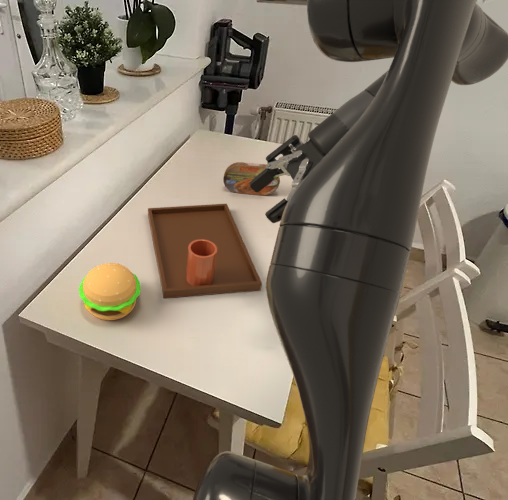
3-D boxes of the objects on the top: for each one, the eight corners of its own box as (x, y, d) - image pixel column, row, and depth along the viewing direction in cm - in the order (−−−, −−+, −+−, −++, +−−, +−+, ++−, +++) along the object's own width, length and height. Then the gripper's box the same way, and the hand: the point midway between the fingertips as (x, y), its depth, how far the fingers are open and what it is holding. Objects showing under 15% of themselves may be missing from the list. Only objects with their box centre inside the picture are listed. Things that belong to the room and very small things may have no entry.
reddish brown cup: (215, 287, 90) (220, 256, 84) (188, 289, 89) (191, 258, 84) (209, 268, 94) (213, 238, 89) (183, 270, 94) (186, 240, 88)
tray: (260, 290, 90) (262, 283, 89) (163, 298, 88) (163, 291, 87) (225, 210, 113) (226, 203, 111) (147, 214, 110) (147, 208, 109)
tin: (221, 191, 119) (225, 164, 114) (222, 185, 122) (225, 159, 116) (276, 197, 118) (282, 170, 112) (276, 191, 120) (282, 164, 115)
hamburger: (144, 285, 91) (144, 254, 85) (136, 329, 82) (135, 298, 76) (88, 280, 92) (85, 249, 86) (74, 323, 83) (69, 292, 77)
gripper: (317, 95, 65) (234, 166, 71) (363, 137, 54) (260, 217, 60) (340, 127, 69) (259, 192, 75) (388, 172, 58) (288, 243, 64)
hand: (260, 203), depth 68 cm, fingers open, 8 cm apart
